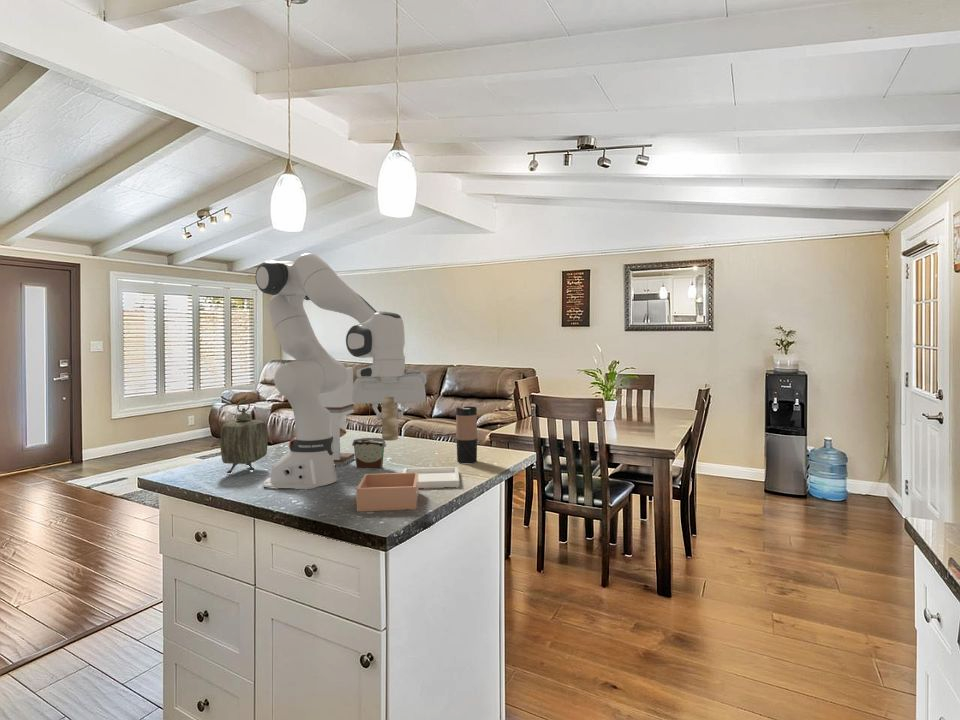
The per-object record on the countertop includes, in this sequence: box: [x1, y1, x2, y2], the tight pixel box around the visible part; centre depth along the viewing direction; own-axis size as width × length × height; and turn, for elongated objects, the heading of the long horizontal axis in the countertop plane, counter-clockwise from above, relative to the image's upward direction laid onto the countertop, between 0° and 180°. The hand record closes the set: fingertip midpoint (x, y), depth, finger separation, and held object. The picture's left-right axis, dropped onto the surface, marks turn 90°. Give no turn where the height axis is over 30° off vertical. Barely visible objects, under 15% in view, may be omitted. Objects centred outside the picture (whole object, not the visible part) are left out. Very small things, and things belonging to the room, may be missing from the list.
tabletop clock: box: [219, 399, 268, 474], centre depth 185 cm, size 14×9×25 cm, turn 171°
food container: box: [351, 437, 387, 470], centre depth 191 cm, size 12×6×10 cm, turn 77°
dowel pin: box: [381, 397, 399, 442], centre depth 150 cm, size 4×4×12 cm
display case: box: [318, 366, 355, 466], centre depth 199 cm, size 11×11×35 cm
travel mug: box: [455, 405, 478, 464], centre depth 197 cm, size 8×8×20 cm
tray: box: [402, 466, 460, 489], centre depth 171 cm, size 18×18×2 cm
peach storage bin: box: [356, 472, 420, 512], centre depth 150 cm, size 16×16×6 cm
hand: (389, 419), depth 150 cm, fingers closed on dowel pin, 4 cm apart
